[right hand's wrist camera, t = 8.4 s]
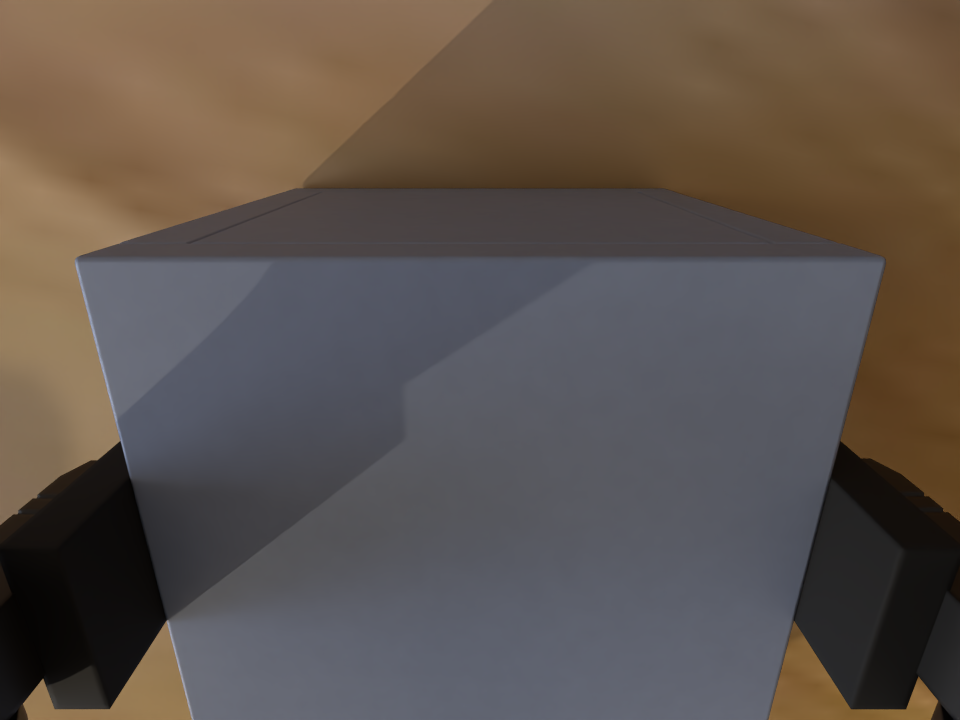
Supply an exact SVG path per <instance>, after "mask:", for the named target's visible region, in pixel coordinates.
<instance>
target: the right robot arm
mask: <svg viewBox="0 0 960 720" xmlns="http://www.w3.org/2000/svg"><path fill="white" fill-rule="evenodd" d="M18 511H19V513H18V514H14V515H12V516H11V517H10V518H9V519H7V520H6V521H5V522H4V523H3V524H1V525H0V720H28V717H27V713H26V711H25V708H24V706H23V703H24V701H25V700H26V699H27V698H28V696H29V695H30V694H31V693H32V691H33V690H34V689H35V688H36V686H37V685H38V684H39V683H40V681H41V680H42V679H44V682H45V684H46V687H47V690H48V692H49V695H50V698H51V700H52V703H53V706H54V708H55V709H110V708H111V706H112V704H113V703H114V701H115V700H116V698H117V697H118V695H119V694H120V692H121V690H122V689H123V687H124V686H125V684H126V683H127V681H128V680H129V678H130V676H131V675H132V673H133V672H134V670H135V669H136V667H137V666H138V664H139V662H140V661H141V659H142V658H143V656H144V655H145V653H146V652H147V650H148V648H149V647H150V645H151V644H152V642H153V641H154V639H155V638H156V636H157V634H158V633H159V631H160V630H161V628H162V627H163V625H164V624H165V622H166V616H165V612H164V608H163V604H162V600H161V596H160V593H159V589H158V585H157V581H156V577H155V573H154V569H153V565H152V561H151V558H150V554H149V550H148V546H147V542H146V538H145V534H144V530H143V526H142V522H141V519H140V515H139V511H138V507H137V503H136V499H135V495H134V491H133V487H132V484H131V480H130V476H129V472H128V468H127V464H126V460H125V456H124V452H123V448H122V445H121V441H120V442H119V443H118V444H116V445H115V446H114V447H113V448H112V449H111V450H109V451H108V452H107V453H106V454H105V455H104V456H102V457H101V458H100V459H99V460H91V461H89V462H87V463H85V464H83V465H81V466H79V467H77V468H75V469H73V470H71V471H69V472H68V473H66V474H64V475H62V476H60V477H59V478H57V479H56V480H55V481H54V482H53V483H51V484H50V485H49V486H48V487H46V488H45V489H44V490H43V491H42V492H40V493H39V494H38V497H37V499H32V500H31V501H29V502H28V503H27V504H26V505H25V506H23V507H22V508H21V509H20V510H18ZM794 621H795V623H796V624H797V626H798V627H799V629H800V630H801V632H802V633H803V635H804V637H805V638H806V640H807V641H808V643H809V644H810V646H811V647H812V649H813V651H814V652H815V654H816V655H817V657H818V658H819V660H820V661H821V663H822V665H823V666H824V668H825V669H826V671H827V672H828V674H829V675H830V677H831V679H832V680H833V682H834V683H835V685H836V686H837V688H838V689H839V691H840V693H841V694H842V696H843V697H844V699H845V700H846V702H847V703H848V705H849V707H850V708H851V709H906V708H907V705H908V703H909V700H910V697H911V695H912V692H913V689H914V687H915V684H916V681H917V679H918V676H919V677H920V679H921V680H922V681H923V682H924V684H925V685H926V686H927V687H928V689H929V690H930V691H931V692H932V693H933V695H934V696H935V697H936V698H937V700H938V703H937V706H936V708H935V711H934V713H933V716H932V718H931V720H960V522H959V521H958V520H957V519H956V518H954V517H953V516H952V515H951V514H949V513H948V512H943V508H942V507H941V506H940V505H938V504H937V503H936V502H935V501H933V500H932V499H931V498H930V497H925V496H924V492H922V491H921V490H920V489H919V488H917V487H916V486H915V485H914V484H913V483H911V482H910V481H909V480H908V479H906V478H905V477H904V476H903V475H901V474H900V473H898V472H896V471H894V470H892V469H890V468H888V467H886V466H884V465H882V464H880V463H878V462H876V461H874V460H872V459H861V458H859V457H858V456H857V455H856V454H855V453H854V452H852V451H851V450H850V449H849V448H848V447H847V446H845V445H844V444H843V443H842V442H841V441H840V443H839V447H838V451H837V455H836V459H835V463H834V467H833V470H832V474H831V478H830V482H829V486H828V490H827V494H826V498H825V501H824V505H823V509H822V513H821V517H820V521H819V525H818V529H817V532H816V536H815V540H814V544H813V548H812V552H811V556H810V560H809V563H808V567H807V571H806V575H805V579H804V583H803V587H802V591H801V594H800V598H799V602H798V606H797V610H796V614H795V618H794Z"/></svg>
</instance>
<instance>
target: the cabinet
mask: <svg viewBox="0 0 960 720" xmlns="http://www.w3.org/2000/svg"><path fill="white" fill-rule="evenodd" d="M75 265H76V269H77V273H78V277H79V281H80V285H81V289H82V293H83V297H84V300H85V304H86V308H87V312H88V316H89V320H90V324H91V328H92V332H93V336H94V339H95V343H96V347H97V351H98V355H99V359H100V363H101V367H102V371H103V374H104V378H105V382H106V386H107V390H108V394H109V398H110V402H111V406H112V410H113V413H114V417H115V421H116V425H117V429H118V433H119V437H120V441H121V445H122V448H123V452H124V456H125V460H126V464H127V468H128V472H129V476H130V480H131V484H132V487H133V491H134V495H135V499H136V503H137V507H138V511H139V515H140V519H141V522H142V526H143V530H144V534H145V538H146V542H147V546H148V550H149V554H150V558H151V561H152V565H153V569H154V573H155V577H156V581H157V585H158V589H159V593H160V596H161V600H162V604H163V608H164V612H165V616H166V620H167V624H168V628H169V632H170V635H171V639H172V643H173V647H174V651H175V655H176V659H177V663H178V667H179V671H180V674H181V678H182V682H183V686H184V690H185V694H186V698H187V702H188V706H189V709H190V713H191V717H192V720H768V719H769V715H770V711H771V707H772V703H773V699H774V695H775V691H776V688H777V684H778V680H779V676H780V672H781V668H782V664H783V660H784V657H785V653H786V649H787V645H788V641H789V637H790V633H791V629H792V626H793V622H794V618H795V614H796V610H797V606H798V602H799V598H800V594H801V591H802V587H803V583H804V579H805V575H806V571H807V567H808V563H809V560H810V556H811V552H812V548H813V544H814V540H815V536H816V532H817V529H818V525H819V521H820V517H821V513H822V509H823V505H824V501H825V498H826V494H827V490H828V486H829V482H830V478H831V474H832V470H833V467H834V463H835V459H836V455H837V451H838V447H839V443H840V439H841V436H842V432H843V428H844V424H845V420H846V416H847V412H848V408H849V405H850V401H851V397H852V393H853V389H854V385H855V381H856V377H857V373H858V370H859V366H860V362H861V358H862V354H863V350H864V346H865V342H866V339H867V335H868V331H869V327H870V323H871V319H872V315H873V311H874V308H875V304H876V300H877V296H878V292H879V288H880V284H881V280H882V277H883V273H884V269H885V265H886V259H885V258H884V257H882V256H880V255H876V254H873V253H870V252H867V251H863V250H860V249H857V248H854V247H851V246H847V245H844V244H838V243H836V242H834V241H831V240H827V239H824V238H821V237H818V236H814V235H811V234H808V233H805V232H802V231H798V230H795V229H792V228H789V227H785V226H782V225H779V224H776V223H773V222H769V221H766V220H763V219H760V218H756V217H753V216H750V215H747V214H743V213H740V212H737V211H734V210H731V209H727V208H724V207H721V206H718V205H714V204H711V203H708V202H705V201H702V200H698V199H695V198H692V197H689V196H685V195H682V194H679V193H676V192H673V191H670V190H667V189H527V188H296V189H293V190H289V191H286V192H282V193H279V194H276V195H273V196H270V197H266V198H263V199H260V200H257V201H253V202H250V203H247V204H244V205H241V206H237V207H234V208H231V209H228V210H224V211H221V212H218V213H215V214H211V215H208V216H205V217H202V218H199V219H195V220H192V221H189V222H186V223H182V224H179V225H176V226H173V227H170V228H166V229H163V230H160V231H157V232H153V233H150V234H147V235H144V236H140V237H137V238H134V239H131V240H128V241H124V242H122V243H120V244H117V245H113V246H110V247H107V248H104V249H100V250H97V251H94V252H91V253H88V254H84V255H81V256H79V257H77V258H76V259H75Z"/></svg>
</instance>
